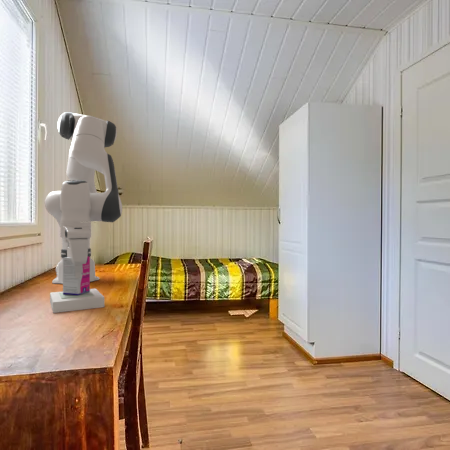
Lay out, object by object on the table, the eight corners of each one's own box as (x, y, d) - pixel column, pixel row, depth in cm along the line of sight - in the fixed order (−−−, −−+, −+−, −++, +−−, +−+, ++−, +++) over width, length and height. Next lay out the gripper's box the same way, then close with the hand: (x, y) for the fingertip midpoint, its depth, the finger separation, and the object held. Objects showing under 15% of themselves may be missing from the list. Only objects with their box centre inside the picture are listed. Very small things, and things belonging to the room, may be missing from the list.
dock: (49, 301, 115) (49, 291, 115) (95, 296, 121) (95, 287, 121) (52, 312, 100) (52, 301, 100) (104, 306, 107) (104, 296, 107)
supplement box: (78, 295, 107) (78, 257, 107) (62, 294, 108) (61, 257, 108) (91, 291, 112) (90, 255, 112) (75, 291, 114) (74, 255, 114)
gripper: (62, 231, 118) (62, 272, 118) (68, 232, 100) (68, 281, 100) (82, 230, 121) (82, 271, 121) (91, 232, 103) (92, 279, 103)
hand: (76, 275), depth 110 cm, fingers closed on supplement box, 8 cm apart
